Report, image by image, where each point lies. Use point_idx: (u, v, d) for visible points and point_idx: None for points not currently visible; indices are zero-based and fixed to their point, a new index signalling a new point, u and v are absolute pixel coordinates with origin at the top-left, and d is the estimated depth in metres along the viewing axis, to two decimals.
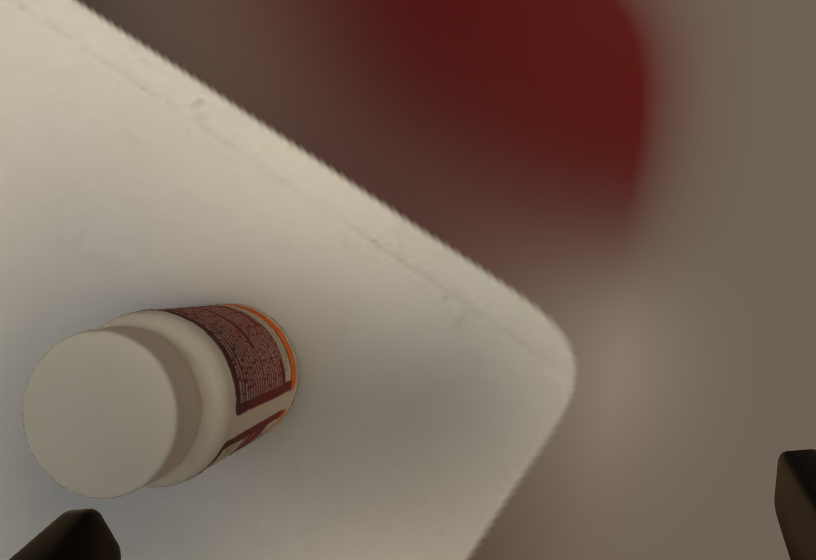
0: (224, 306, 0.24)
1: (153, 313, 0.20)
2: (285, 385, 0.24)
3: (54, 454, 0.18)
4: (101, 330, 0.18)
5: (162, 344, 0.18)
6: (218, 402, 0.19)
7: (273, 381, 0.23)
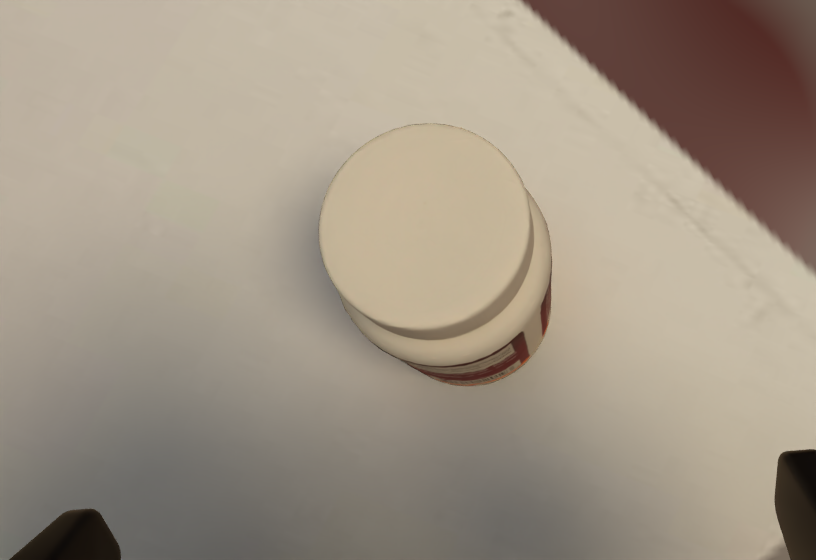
0: None
1: None
2: (546, 324, 0.20)
3: (349, 258, 0.14)
4: (453, 127, 0.14)
5: None
6: (537, 274, 0.15)
7: (548, 306, 0.19)
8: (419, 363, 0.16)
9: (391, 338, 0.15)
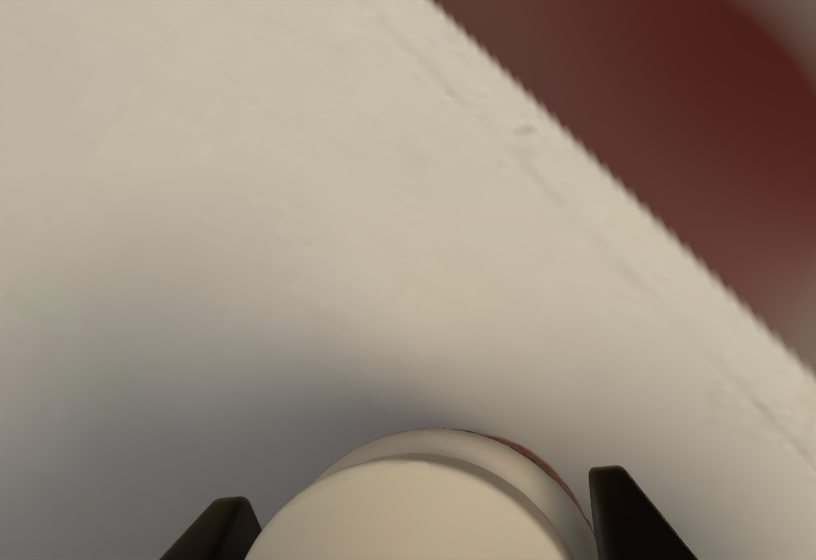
0: (517, 445, 0.14)
1: (494, 445, 0.10)
2: None
3: None
4: (455, 468, 0.08)
5: (553, 530, 0.08)
6: None
7: None
8: None
9: None
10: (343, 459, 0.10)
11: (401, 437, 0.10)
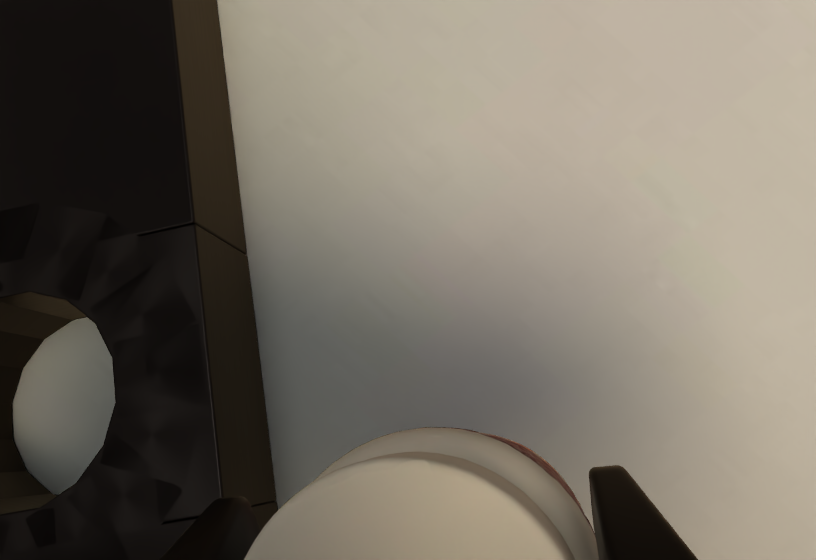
0: (517, 444, 0.14)
1: (494, 444, 0.10)
2: None
3: None
4: (456, 466, 0.08)
5: (553, 528, 0.08)
6: None
7: None
8: None
9: None
10: (343, 458, 0.10)
11: (401, 436, 0.10)
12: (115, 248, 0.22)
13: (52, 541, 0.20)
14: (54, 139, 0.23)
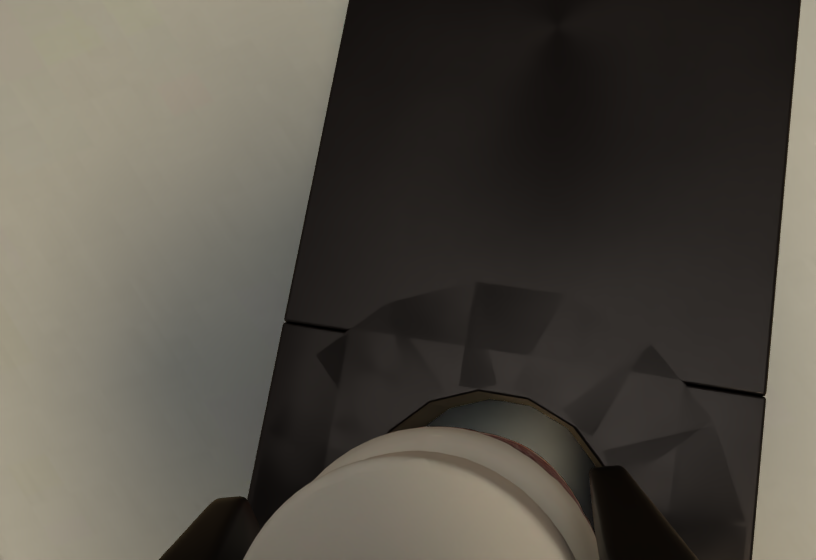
0: (517, 443, 0.14)
1: (494, 443, 0.10)
2: None
3: None
4: (456, 465, 0.08)
5: (553, 527, 0.08)
6: None
7: None
8: None
9: None
10: (343, 457, 0.10)
11: (401, 435, 0.10)
12: (653, 389, 0.18)
13: None
14: (599, 222, 0.19)
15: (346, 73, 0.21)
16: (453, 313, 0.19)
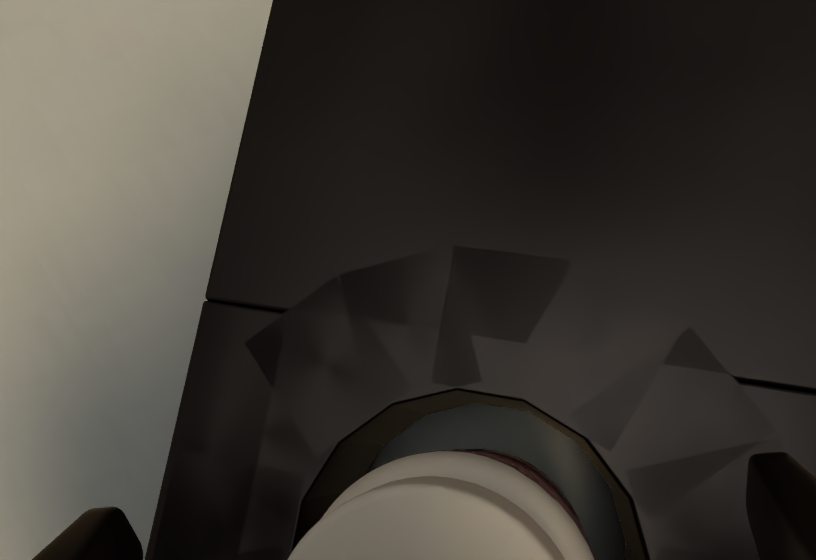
0: (520, 462, 0.15)
1: (501, 468, 0.11)
2: None
3: None
4: (469, 493, 0.09)
5: (554, 547, 0.10)
6: None
7: None
8: None
9: None
10: (364, 478, 0.12)
11: (417, 459, 0.11)
12: (693, 387, 0.13)
13: None
14: (617, 166, 0.14)
15: None
16: (424, 287, 0.14)
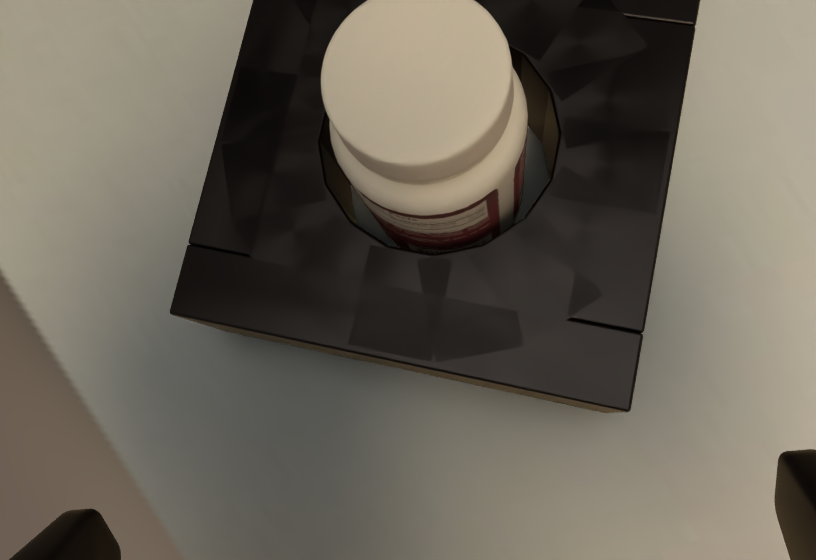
0: None
1: None
2: (517, 204, 0.21)
3: (347, 100, 0.15)
4: None
5: None
6: (514, 134, 0.17)
7: (521, 184, 0.20)
8: (403, 212, 0.17)
9: (379, 186, 0.17)
10: None
11: None
12: (596, 20, 0.20)
13: (441, 293, 0.19)
14: None
15: None
16: None
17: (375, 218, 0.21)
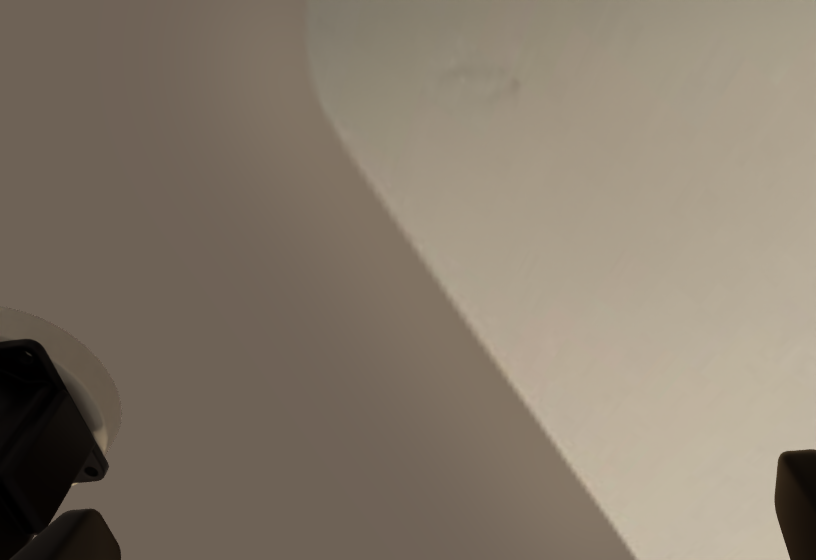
0: None
1: None
2: None
3: None
4: None
5: None
6: None
7: None
8: None
9: None
10: None
11: None
12: None
13: None
14: None
15: None
16: None
17: None
